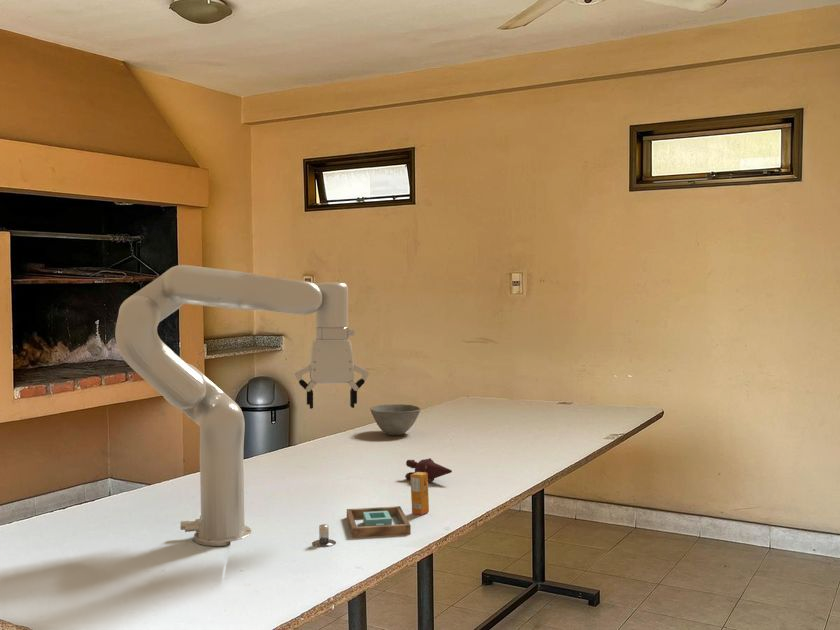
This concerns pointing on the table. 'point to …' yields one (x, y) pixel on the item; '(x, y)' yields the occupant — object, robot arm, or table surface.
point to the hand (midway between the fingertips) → (331, 407)
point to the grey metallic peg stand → (323, 537)
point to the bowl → (395, 417)
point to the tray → (378, 530)
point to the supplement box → (419, 493)
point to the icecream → (427, 469)
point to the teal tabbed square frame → (377, 518)
